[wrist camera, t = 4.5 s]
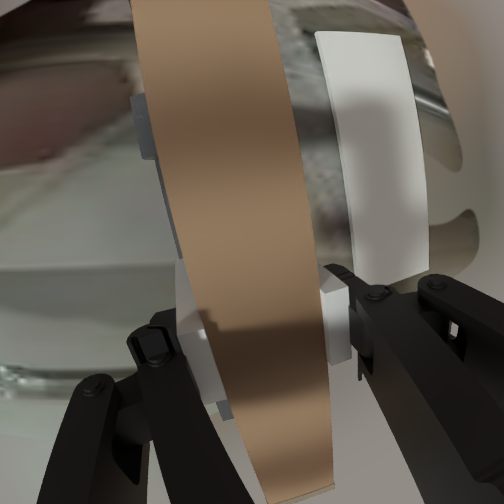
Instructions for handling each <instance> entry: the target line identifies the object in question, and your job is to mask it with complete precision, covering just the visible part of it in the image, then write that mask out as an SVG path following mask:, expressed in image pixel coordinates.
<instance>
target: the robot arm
mask: <svg viewBox="0 0 504 504" xmlns="http://www.w3.org/2000/svg"><path fill="white" fill-rule="evenodd" d="M317 266H318V274H319V283H320V295H321V304H322V314H323V324H324V334H325V345H326V356H327V361H328V362H329V363H330V365H331V366H332V365H335V364H338V363H340V362H343V361H346V360H348V359H351V358H352V355H351V354H352V353H351V344H352V345H353V347H354V348H355V349H356V350H357V351H358V380H359V381H360V380H362V373H363V374H364V376H365V378H366V380H367V382H368V384H369V386H370V388H371V390H372V392H373V394H374V396H375V398H376V400H377V402H378V404H379V406H380V408H381V410H382V412H383V414H384V416H385V418H386V420H387V422H388V425H389V427H390V429H391V431H392V433H393V435H394V437H395V439H396V441H397V444H398V446H399V448H400V450H401V452H402V454H403V456H404V458H405V461H406V463H407V465H408V467H409V469H410V471H411V473H412V476H413V478H414V480H415V483H416V485H417V487H418V489H419V491H420V494H421V496H422V498H423V501H424V503H425V504H504V303H502V302H500V301H498V300H496V299H494V298H492V297H490V296H488V295H486V294H484V293H482V292H480V291H478V290H476V289H474V288H472V287H470V286H468V285H466V284H464V283H462V282H459V281H457V280H455V279H453V278H451V277H449V276H445V275H439V274H430V275H427V276H424V277H422V278H421V279H420V280H419V282H418V291H417V292H411V293H405V294H399V293H398V292H397V291H396V290H395V289H394V288H392V287H391V286H387V285H380V284H375V285H369V284H367V283H366V282H365V281H363V280H362V279H360V278H359V277H358V276H355V274H353V273H352V272H350V271H349V270H348V269H346V268H345V267H344V266H340V265H337V264H333V263H332V264H329V265H326V266H322V265H321V264H319V263H318V262H317ZM175 290H176V308H173V309H169V310H165V311H161V312H157V313H155V314H154V316H153V317H152V318H151V320H150V324H147V325H144V326H142V327H140V328H138V329H136V330H135V331H133V332H132V333H131V334H130V335H129V337H128V338H127V342H126V343H127V345H128V348H129V350H130V352H131V354H132V356H133V359H134V361H135V363H136V365H137V368H138V371H137V372H136V373H134V374H133V375H131V376H129V377H127V378H125V379H123V380H120V381H118V382H116V383H115V381H114V379H113V378H112V377H111V376H110V375H107V374H95V375H91V376H89V377H87V378H85V379H83V380H82V381H81V382H80V383H79V384H78V385H77V386H76V388H75V390H74V392H73V394H72V397H71V399H70V402H69V404H68V407H67V410H66V412H65V415H64V418H63V421H62V423H61V426H60V429H59V432H58V435H57V438H56V441H55V443H54V446H53V449H52V453H51V456H50V459H49V462H48V465H47V468H46V472H45V475H44V478H43V482H42V485H41V489H40V492H39V496H38V500H37V504H147V484H148V466H149V451H150V442H149V441H151V440H153V443H154V447H155V451H156V455H157V459H158V462H159V466H160V470H161V473H162V477H163V480H164V483H165V487H166V490H167V493H168V496H169V499H170V503H171V504H255V503H254V502H253V500H252V498H251V497H250V495H249V493H248V491H247V490H246V488H245V486H244V484H243V482H242V480H241V479H240V477H239V475H238V473H237V471H236V469H235V467H234V465H233V464H232V462H231V460H230V458H229V456H228V454H227V452H226V450H225V448H224V446H223V444H222V442H221V440H220V438H219V436H218V434H217V432H216V430H215V428H214V426H213V424H212V422H211V420H210V417H209V415H208V413H207V411H206V409H205V407H204V405H206V404H210V403H214V402H218V401H222V400H226V399H227V396H226V392H225V389H224V386H223V383H222V381H221V378H220V375H219V372H218V369H217V366H216V363H215V360H214V357H213V354H212V350H211V347H210V344H209V341H208V338H207V335H206V332H205V328H204V325H203V322H202V320H201V317H200V314H199V310H198V307H197V304H196V300H195V297H194V294H193V290H192V287H191V283H190V280H189V276H188V273H187V269H186V266H185V262H184V259H183V258H182V259H178V260H175ZM452 322H453V323H455V324H457V325H458V326H459V327H458V333H457V337H455V336H452V335H451V334H450V332H451V325H452ZM201 399H202V400H201ZM202 401H203V402H202ZM203 404H204V405H203Z"/></svg>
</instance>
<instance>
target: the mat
mask: <svg viewBox="0 0 504 504" xmlns="http://www.w3.org/2000/svg"><path fill="white" fill-rule="evenodd" d="M314 34H315V38H316V42H317V46H318V50H319V54H320V58H321V62H322V66H323V71H324V75H325V79H326V84H327V89H328V93H329V98H330V103H331V108H332V113H333V118H334V124H335V129H336V135H337V140H338V146H339V152H340V158H341V165H342V171H343V178H344V185H345V192H346V199H347V207H348V215H349V224H350V233H351V243H352V253H353V264H354V274H355V276H358V277H359V278H360V279H362V280H363V281H365V282H366V283H367V284H369V285H375V284H380V285H389V284H392V283H395V282H398V281H400V280H403V279H406V278H408V277H411V276H414V275H416V274H419V273H421V272H424V271H426V270H429V226H428V204H427V190H426V178H425V168H424V158H423V149H422V142H421V135H420V128H419V121H418V115H417V110H416V104H415V99H414V94H413V89H412V84H411V79H410V75H409V70H408V66H407V62H406V58H405V54H404V50H403V46H402V42H401V39H400V36H395V35H385V34H374V33H360V32H335V31H317V32H316V33H314Z"/></svg>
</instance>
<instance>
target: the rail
mask: <svg viewBox="0 0 504 504" xmlns="http://www.w3.org/2000/svg"><path fill="white" fill-rule="evenodd" d="M129 3H130V6H131V10H132V15H133V22H134V29H135V36H136V43H137V49H138V55H139V61H140V67H141V73H142V79H143V84H144V90H145V95H146V100H147V106H148V111H149V116H150V121H151V126H152V131H153V135H154V140H155V145H156V149H157V154H158V158H159V163H160V167H161V172H162V176H163V180H164V185H165V189H166V193H167V197H168V201H169V205H170V209H171V213H172V217H173V221H174V225H175V229H176V233H177V236H178V240H179V244H180V248H181V251H182V255H183V259H184V262H185V266H186V269H187V273H188V276H189V280H190V283H191V287H192V290H193V294H194V297H195V300H196V304H197V307H198V310H199V314H200V317H201V320H202V322H203V325H204V328H205V332H206V335H207V338H208V341H209V344H210V347H211V350H212V354H213V357H214V360H215V363H216V366H217V369H218V372H219V375H220V378H221V381H222V383H223V386H224V389H225V392H226V396H227V399H228V402H229V405H230V407H231V410H232V413H233V416H234V418H235V421H236V424H237V427H238V429H239V432H240V434H241V437H242V440H243V442H244V445H245V448H246V450H247V452H248V455H249V458H250V460H251V463H252V466H253V468H254V471H255V473H256V475H257V478H258V480H259V483H260V485H261V487H262V490H263V493H264V495H265V498H266V501H267V504H292V503H296V502H298V501H302V500H305V499H307V498H310V497H313V496H316V495H319V494H321V493H324V492H327V491H329V490H332V489H334V488H335V483H334V482H333V448H332V426H331V407H330V392H329V378H328V364H327V356H326V345H325V334H324V324H323V314H322V304H321V295H320V283H319V274H318V266H317V258H316V251H315V243H314V236H313V229H312V222H311V215H310V208H309V202H308V195H307V189H306V183H305V176H304V170H303V165H302V159H301V153H300V147H299V142H298V136H297V131H296V126H295V120H294V115H293V110H292V105H291V100H290V95H289V90H288V86H287V81H286V76H285V72H284V67H283V63H282V58H281V54H280V49H279V45H278V41H277V37H276V32H275V28H274V24H273V20H272V16H271V12H270V8H269V4H268V0H129Z"/></svg>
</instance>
